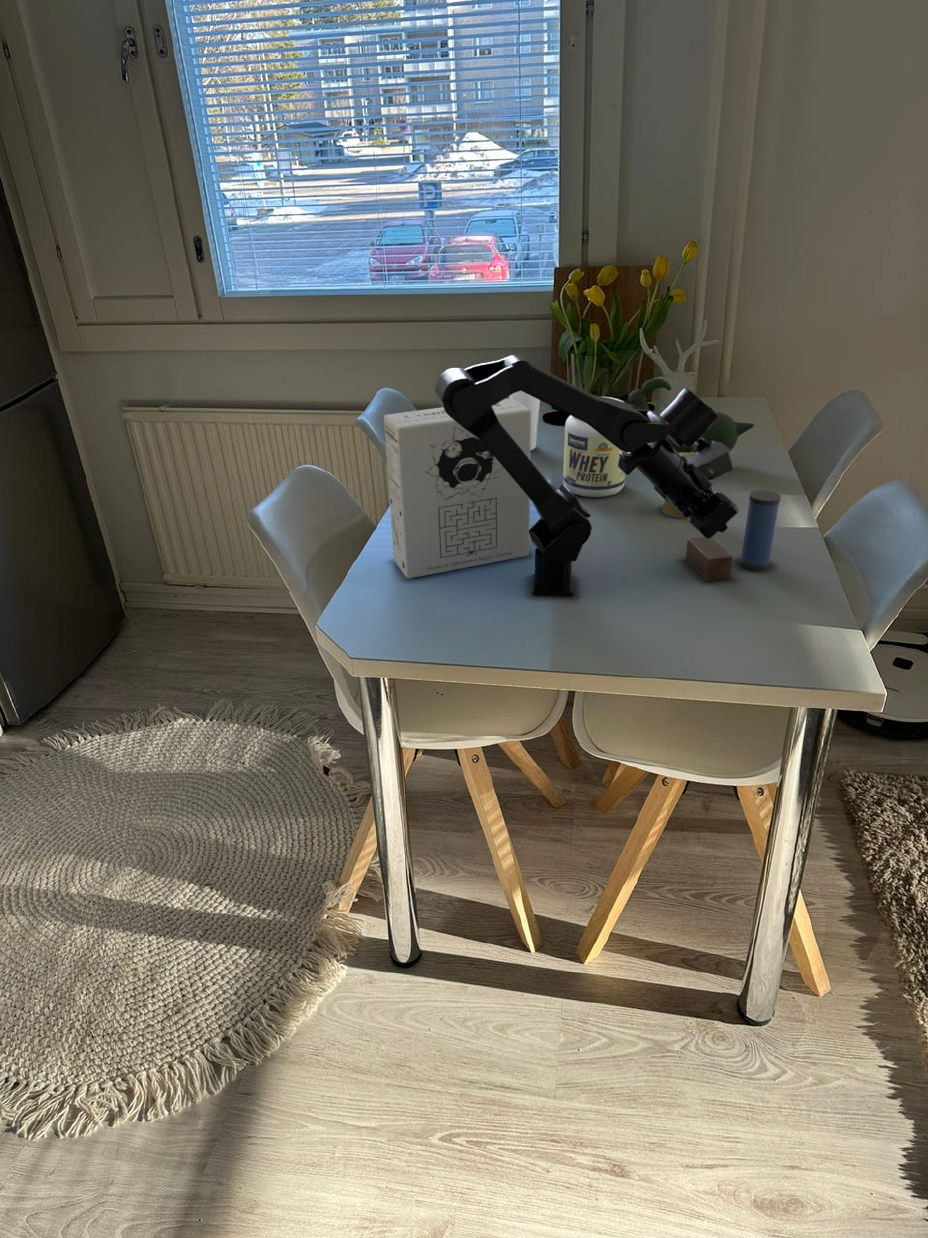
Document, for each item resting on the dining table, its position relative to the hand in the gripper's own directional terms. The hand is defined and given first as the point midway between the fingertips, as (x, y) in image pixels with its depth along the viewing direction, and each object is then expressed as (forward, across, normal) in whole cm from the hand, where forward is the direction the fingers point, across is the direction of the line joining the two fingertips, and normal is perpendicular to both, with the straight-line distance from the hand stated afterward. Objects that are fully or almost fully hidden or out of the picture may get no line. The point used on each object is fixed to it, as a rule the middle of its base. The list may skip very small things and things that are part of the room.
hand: (724, 529), depth 138 cm
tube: (+5, 0, -4) cm, 6 cm away
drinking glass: (-6, +66, +16) cm, 68 cm away
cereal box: (-23, +14, +33) cm, 43 cm away
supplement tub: (-1, +39, +11) cm, 41 cm away
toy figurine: (+15, +48, -6) cm, 50 cm away
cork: (+7, +24, +3) cm, 25 cm away
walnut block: (+3, 0, +6) cm, 7 cm away
